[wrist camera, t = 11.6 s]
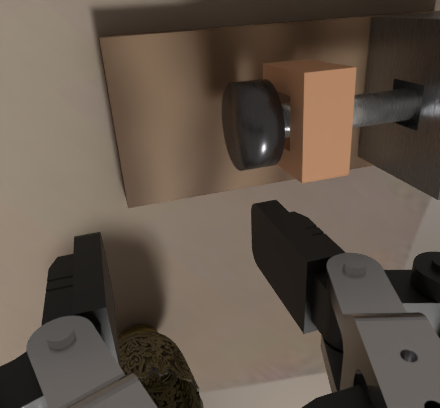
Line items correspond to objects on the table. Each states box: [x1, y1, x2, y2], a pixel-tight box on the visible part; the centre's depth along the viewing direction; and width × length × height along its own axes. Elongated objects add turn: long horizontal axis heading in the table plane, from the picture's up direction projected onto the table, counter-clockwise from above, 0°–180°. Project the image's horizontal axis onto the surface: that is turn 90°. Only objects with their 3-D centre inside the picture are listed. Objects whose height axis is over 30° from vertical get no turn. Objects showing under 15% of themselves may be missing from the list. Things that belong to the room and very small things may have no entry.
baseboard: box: [99, 11, 440, 208], centre depth 30 cm, size 24×11×2 cm, turn 93°
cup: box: [118, 324, 203, 408], centre depth 32 cm, size 8×7×8 cm
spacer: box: [263, 59, 357, 183], centre depth 25 cm, size 3×6×6 cm, turn 3°
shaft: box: [222, 79, 423, 171], centre depth 25 cm, size 12×5×5 cm, turn 93°
